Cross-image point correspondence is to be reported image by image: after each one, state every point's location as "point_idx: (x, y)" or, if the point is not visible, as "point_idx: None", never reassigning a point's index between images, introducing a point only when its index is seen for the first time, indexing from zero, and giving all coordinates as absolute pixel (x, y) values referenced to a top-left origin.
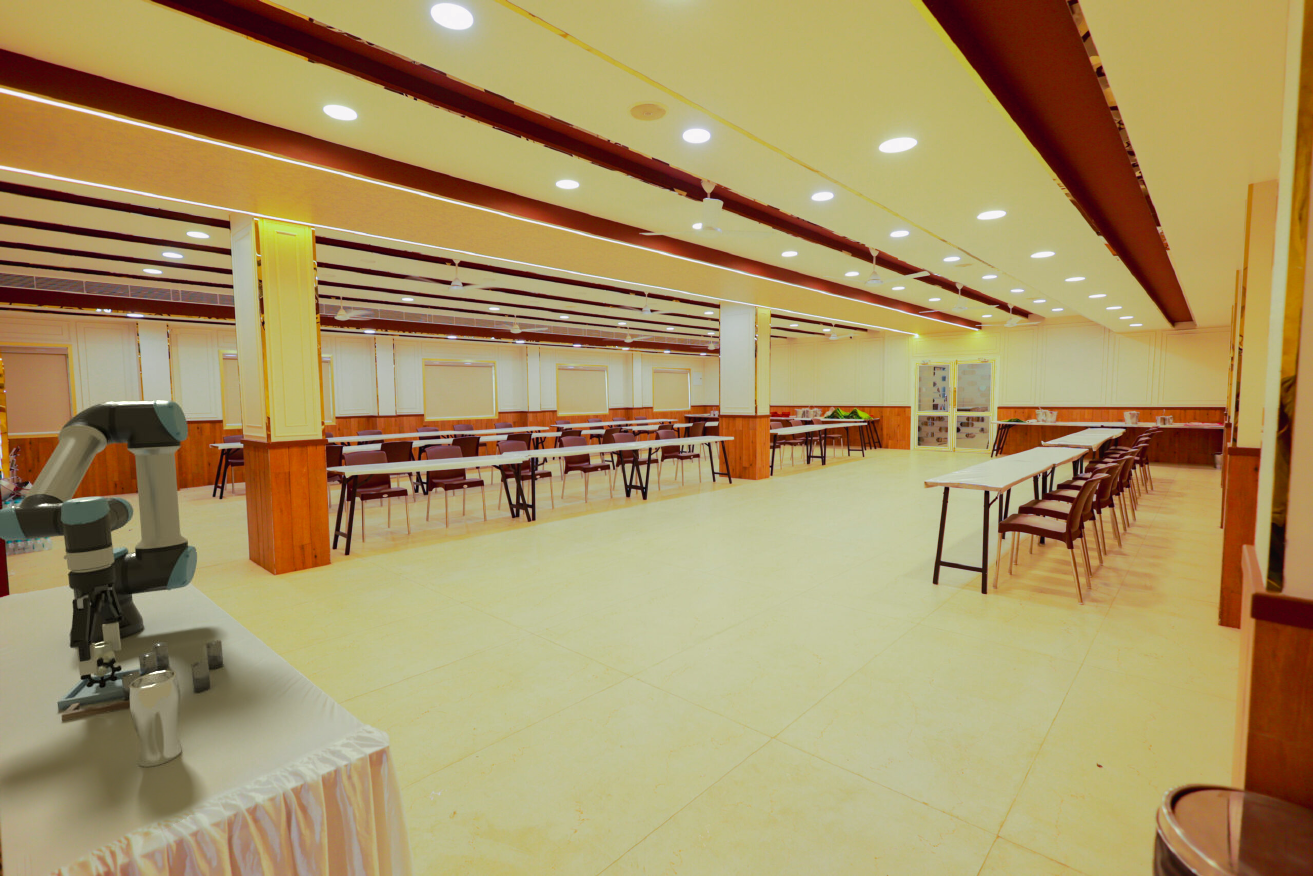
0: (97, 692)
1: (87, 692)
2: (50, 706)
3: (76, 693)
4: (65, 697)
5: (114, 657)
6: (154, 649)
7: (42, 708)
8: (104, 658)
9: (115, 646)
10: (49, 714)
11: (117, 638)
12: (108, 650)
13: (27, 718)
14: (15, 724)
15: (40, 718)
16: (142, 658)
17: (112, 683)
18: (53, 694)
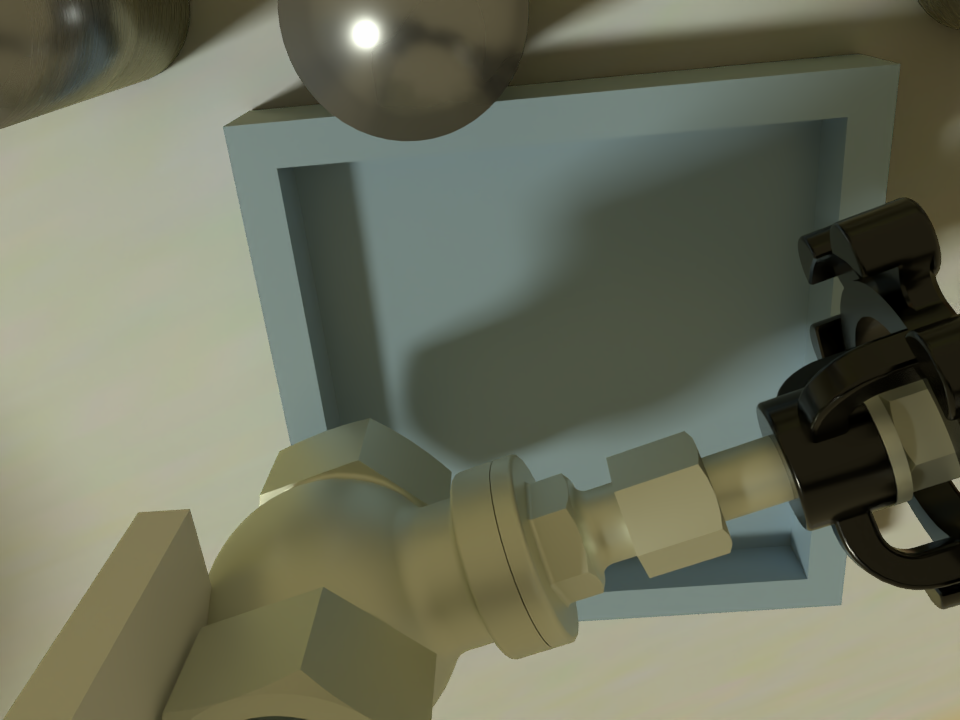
0: (638, 396)
1: (592, 481)
2: (694, 634)
3: None
4: (770, 585)
5: (312, 496)
6: (48, 51)
7: (705, 668)
8: (534, 567)
9: (175, 599)
10: (865, 579)
11: (113, 674)
12: (357, 622)
13: (851, 683)
14: (920, 707)
15: (910, 605)
16: (521, 48)
17: (456, 352)
18: (451, 706)
